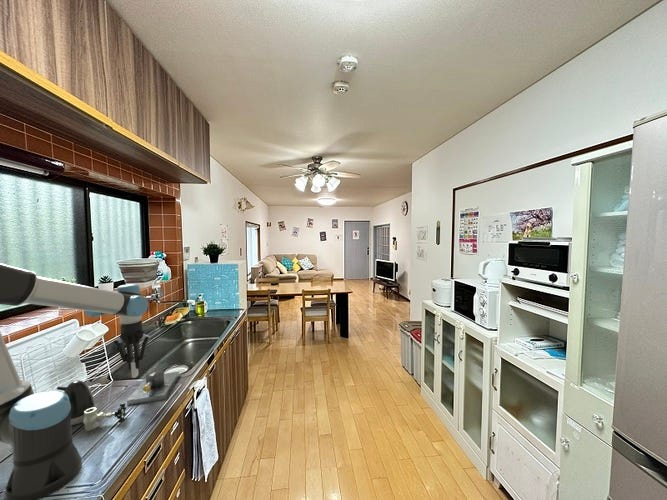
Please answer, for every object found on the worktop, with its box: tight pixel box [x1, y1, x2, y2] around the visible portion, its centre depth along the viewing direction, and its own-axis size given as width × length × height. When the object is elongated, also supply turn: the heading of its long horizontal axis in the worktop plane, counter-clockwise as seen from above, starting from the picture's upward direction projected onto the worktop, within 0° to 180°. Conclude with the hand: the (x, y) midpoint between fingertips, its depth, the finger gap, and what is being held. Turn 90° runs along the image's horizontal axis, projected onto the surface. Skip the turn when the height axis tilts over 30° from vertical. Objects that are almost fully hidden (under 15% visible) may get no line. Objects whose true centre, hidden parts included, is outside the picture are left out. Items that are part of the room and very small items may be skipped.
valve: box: [82, 402, 127, 432], centre depth 104 cm, size 7×7×12 cm
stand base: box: [126, 367, 180, 406], centre depth 129 cm, size 22×14×6 cm, turn 15°
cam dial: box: [143, 369, 165, 392], centre depth 126 cm, size 16×7×5 cm, turn 15°
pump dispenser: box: [56, 380, 96, 426], centre depth 107 cm, size 10×10×15 cm
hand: (135, 376), depth 120 cm, fingers closed
